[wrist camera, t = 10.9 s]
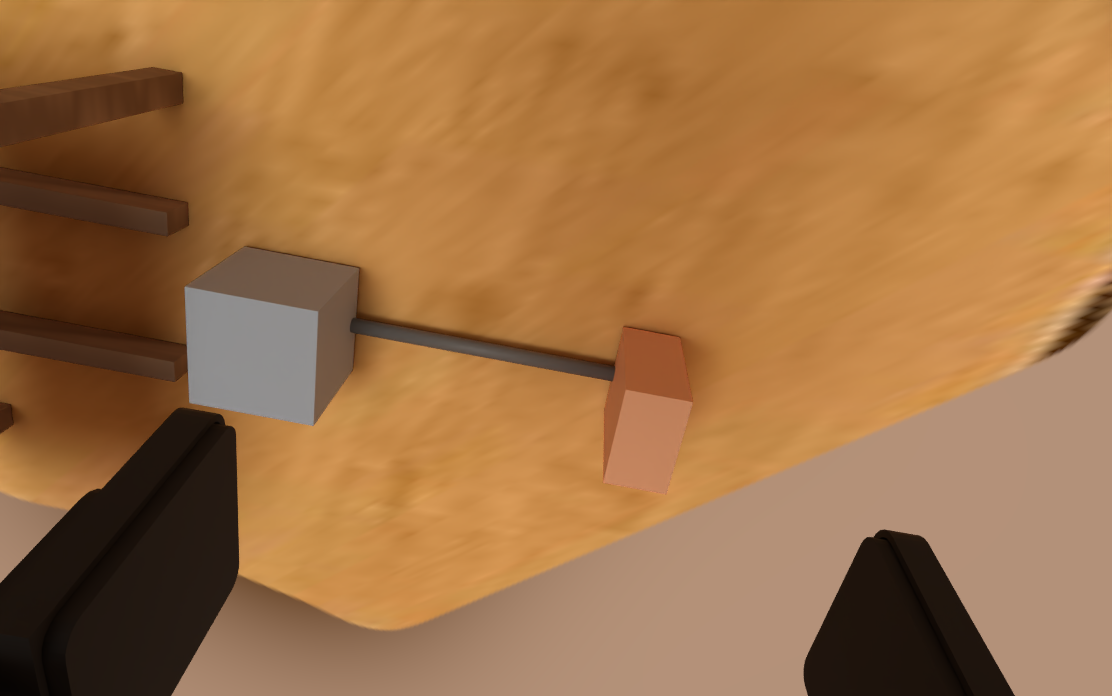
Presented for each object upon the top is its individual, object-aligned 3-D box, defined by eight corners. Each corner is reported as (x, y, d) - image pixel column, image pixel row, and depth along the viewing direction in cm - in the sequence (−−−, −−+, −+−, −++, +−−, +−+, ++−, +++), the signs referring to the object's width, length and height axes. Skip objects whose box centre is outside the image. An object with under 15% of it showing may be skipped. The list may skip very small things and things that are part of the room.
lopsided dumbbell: (244, 246, 39) (172, 294, 32) (682, 328, 39) (695, 392, 33) (244, 349, 41) (178, 413, 35) (655, 426, 42) (663, 502, 35)
